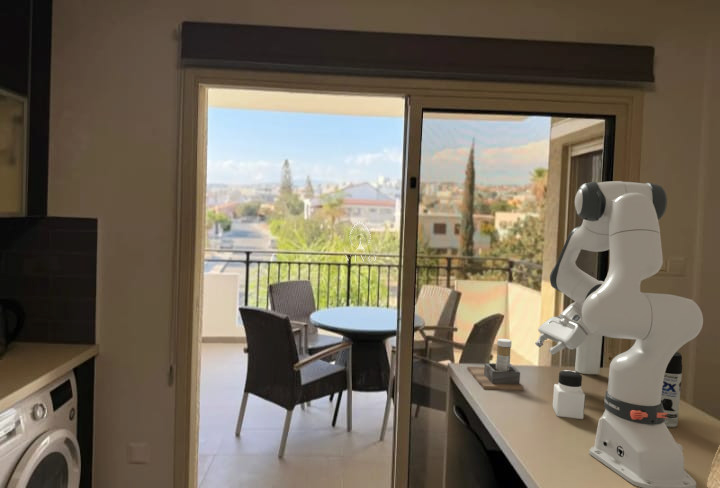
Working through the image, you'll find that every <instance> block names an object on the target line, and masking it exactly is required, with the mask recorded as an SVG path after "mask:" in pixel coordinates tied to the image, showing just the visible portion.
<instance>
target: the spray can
mask: <svg viewBox="0 0 720 488" xmlns="http://www.w3.org/2000/svg"><path fill="white" fill-rule="evenodd" d="M682 360H683V357H682V354H681V352H678V351H677V352H676V353H675V354H674V355H673V357H672V358H671V360H670V361H669V363H668V365H667V368H666V371H665V375H664V380H663V387H662V395H661V402H662V404H663V408H664V413H668V414H667V415H665V417H668V418H665V425H666V426H667V428H668V429H669V428H671V429H673V428H677V427H678V422H679V413H680V412H679V410H680V400H681V399H680V398H681V388H682V376H683V361H682Z"/></svg>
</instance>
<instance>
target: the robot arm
mask: <svg viewBox="0 0 720 488" xmlns="http://www.w3.org/2000/svg"><path fill="white" fill-rule="evenodd" d="M574 197H575V198H574V207H575V211H576V215H577V216H578V217H579V218H580V219H581V220H582V223H581V225H579V226H576V227H575V228H573V229H572V230H571V231H570V233H569V235H568V236H567V238H566V240H565V243H564V245H563V247H562V250H561V252H560V254H559V257H558V259H557V261H556V264H555V265H554V267H553V268H552V270H551V272H550V275H549V282H550V286H551V287H552V288H553V289H554V290H557V291H559V293H561V294H563V295H565V296H566V297H568V298H570V299H571V300H572V301H573V302H572V303H570V304H569V305H568V306H567V307H566V308H565V309H564V310H562V312H561V313H560V314H559V315H556V316H552V317H550V318H547V320H546V321H545V322H543V323H542V324H541V325H540V326H539V327H538V329H537V331H538V332H539V333H540V335H539V336H538V339H537V340H536V341H535V343H534V344H535V345H536V346H537V347H538V348H541V347H543V345H544V342H545V341H547V340H550V341H553V342H555V343H557V344H555V345H554V346H551V347H550V348H549V349H548V351H549V353H550V354H552V355H555V354H557V353H558V352H560V351H563V350H564V349H565V348H567V349H569V350H574V349H577V347H578V346H579V345H581V344H582V343H583V342H584V341H585V340H586V339H587V337H588V336H591V335H592V334H593V333H595V334H599V335H602V337H607V338H611V339H626V340H635V342H634V344H633V345H632V346H631V347H630V348H629V349H628V350H626V351H624V352H622V353H619V354H616V356H614V357H613V358H612V360H611V361H610V364H609V372H608V384H607V390H606V392H605V395H604V397H603V398H604V404H603V406H604V408H605V409H604V411H603V414H602V415H601V417H600V418H599V419H598V424H597V428H596V434H595V440H594V444H593V445H594V446H591V447H590V448H589V450H588V451H589V452H588V454H589V455H590V456H591V457H593V458H594V459H596V460H598V461H599V462H600V463H602V464H603V465H604V466H606V467H607V468H609V469H610V470H612V471H614V473H616V474H617V475H619V477H622V478H623V479H624V480H626V481H628V482H629V484H632V486H633V485H634V486H636V487H639V488H697V487H698V486H697V483H698V482H696V480H695V479H694V478H693V477H692V476H691V475H690V474H689V473H688V472H687V471H686V470H685V459H684V453H683V452H684V449H683V446H682V445H681V444H680V443H677V442H676V440H675V438H674V437H673V435H672V433H671V431H670V430H669V427H667V426H666V425H665V418H668V417H665V415H667V414H668V413H664V408H663V404H662V402H661V395H662V387H663V380H664V375H665V371H666V368H667V365H668V363H669V361H670V360H671V358H672V357H673V355H674V354H675V353H676V352H678V351H679V350H680V349H681V348H682V347H683V346H684V345H686V344H687V343H688V342H691V341H693V340H694V339H695V338H696V337H697V336H698V335H699V334H700V332H701V331H702V329H703V324H704V317H703V312H702V310H701V308H700V306H699V305H698V304H697V303H696V302H695V301H694V300H693V299H691V298H686V297H684V296H678V295H674V294H670V293H668V294H667V293H655V292H654V293H653V292H642V291H641V283H642V281H643V280H646V279H648V278H651V277H652V276H654V275H656V274H657V273H659V271H660V270H661V268H662V266H663V263H664V259H663V248H662V239H661V229H660V224H659V221H660V220H661V218H663V216H664V215H665V213H666V212H667V211H666V210H667V205H668V197H667V192H666V190H665V189H664V188H663V187H662V185H659V184H657V183H651V182H646V183H642V182H641V183H640V182H632V181H623V180H616V181H615V180H613V181H610V180H609V181H602V182H601V181H600V182H597V181H590V182H587V183H586V182H585V183H582V184H581V185H580V187H578V189H577V191H576V194H575V196H574ZM581 250H582V251H583V250H584V251H588V252H593V253H595V252H596V253H598V252H605V251H609V267H608V271H607V275H606V277H605V279H604V281H603V280H598V279H596V278H595V277H593V276H592V275H589V274H588V273H586V272H585V271H584V270H581V268H579V267H578V266H577V263H576V262H577V259H578V257H579V255H580V253H581Z"/></svg>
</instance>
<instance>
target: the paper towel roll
mask: <svg viewBox="0 0 720 488" xmlns="http://www.w3.org/2000/svg"><path fill="white" fill-rule="evenodd" d="M602 344H603V336H602V335H599V334H595V333H593V334H592V335H591V336H588V337H587V339H586V340H585V341H584V342H583V343H582V344H581V345H579V346H578V347H577V348H575V349H576V351H575V364H574V366H575V367H574V371H575V372H577V373H579V374H584V375H600V369H601V368H600V367H601V356H602V346H603V345H602Z"/></svg>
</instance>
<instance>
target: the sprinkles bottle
mask: <svg viewBox="0 0 720 488" xmlns="http://www.w3.org/2000/svg"><path fill="white" fill-rule="evenodd" d="M496 345H497V348H496V349H497V350H496V359H495V361H496V362H495V364H496V371H509V368H510V364H511V348H512V340H511V339H508V338H498V339H497V341H496Z"/></svg>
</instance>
